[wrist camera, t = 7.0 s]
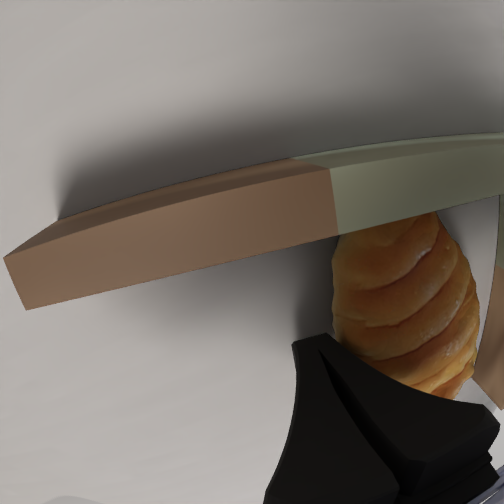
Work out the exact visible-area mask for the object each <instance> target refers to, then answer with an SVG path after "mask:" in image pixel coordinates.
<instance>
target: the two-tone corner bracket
mask: <svg viewBox="0 0 504 504" xmlns="http://www.w3.org/2000/svg"><path fill="white" fill-rule="evenodd" d="M497 195H500V212H499V231H498V244H497V254H496V263H495V271H494V278H493V285H492V291H491V297H490V303H489V308H488V313H487V318H486V323H485V327H484V332H483V336H482V340H481V344H480V348H479V352H478V355H477V359H476V363H475V366H474V373H473V375H472V376H471V378H472V379H473V380H474V381H475V382H476V383H477V384H478V385H479V386H480V387H481V388H482V390H483V391H484V392H485V393H486V394H487V395H488V396H489V397H490V399H491V400H492V401H493V402H494V403H495V404H496V405H497V406H498V408H499V409H500V410H502V409H504V132H499V133H479V134H463V135H450V136H439V137H428V138H418V139H409V140H401V141H392V142H385V143H377V144H370V145H363V146H356V147H350V148H343V149H337V150H331V151H325V152H319V153H313V154H308V155H302V156H297V157H292V158H287V159H282V160H277V161H272V162H267V163H262V164H257V165H253V166H248V167H244V168H239V169H235V170H230V171H226V172H222V173H218V174H214V175H209V176H205V177H201V178H197V179H193V180H190V181H186V182H182V183H178V184H174V185H171V186H167V187H163V188H160V189H156V190H153V191H149V192H146V193H142V194H139V195H135V196H132V197H129V198H125V199H122V200H119V201H115V202H112V203H109V204H106V205H103V206H100V207H97V208H93V209H90V210H87V211H84V212H81V213H78V214H75V215H73V216H70V217H67V218H64V219H61V220H58V221H56V222H55V223H53V224H51V225H50V226H48V227H47V228H45V229H44V230H42V231H41V232H39V233H38V234H36V235H35V236H33V237H32V238H30V239H29V240H27V241H26V242H25V243H23V244H22V245H20V246H19V247H17V248H16V249H15V250H13V251H12V252H10V253H9V254H8V255H6V256H5V257H3V259H4V262H5V264H6V267H7V269H8V272H9V274H10V276H11V279H12V281H13V283H14V286H15V288H16V290H17V292H18V295H19V297H20V299H21V301H22V303H23V305H24V307H25V309H26V310H30V309H34V308H39V307H43V306H47V305H51V304H56V303H60V302H64V301H68V300H72V299H77V298H81V297H85V296H89V295H93V294H98V293H102V292H106V291H110V290H114V289H119V288H123V287H127V286H131V285H135V284H139V283H144V282H148V281H152V280H156V279H160V278H164V277H168V276H173V275H177V274H181V273H185V272H189V271H193V270H197V269H202V268H206V267H210V266H214V265H218V264H222V263H226V262H230V261H235V260H239V259H243V258H247V257H251V256H255V255H259V254H263V253H267V252H271V251H276V250H280V249H284V248H288V247H292V246H296V245H300V244H304V243H308V242H312V241H316V240H320V239H324V238H328V237H333V236H337V235H341V234H345V233H349V232H353V231H357V230H361V229H365V228H369V227H373V226H377V225H381V224H385V223H389V222H393V221H397V220H401V219H405V218H409V217H413V216H417V215H421V214H425V213H429V212H433V211H437V210H441V209H445V208H449V207H453V206H457V205H461V204H465V203H469V202H473V201H477V200H481V199H485V198H489V197H493V196H497Z"/></svg>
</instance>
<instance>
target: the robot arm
mask: <svg viewBox="0 0 504 504" xmlns="http://www.w3.org/2000/svg"><path fill="white" fill-rule="evenodd" d="M292 351H293V356H294V362H295V368H296V393H295V403H294V410H293V415H292V420H291V425H290V429H289V433H288V437H287V440H286V443H285V446H284V449H283V452H282V455H281V457H280V460H279V463H278V465H277V468H276V470H275V472H274V474H273V477H272V479H271V481H270V483H269V485H268V487H267V489H266V491H265V497H264V501H263V504H480V503H481V502H483V501H484V500H486V499H487V498H488V497H490V496H491V495H493V494H494V493H495V492H496V493H495V494H494V495H493V496H491V497H490V498H489V499H488V500H486V501H485V502H484V503H483V504H504V465H503V466H502V467H500V468H499V469H498V470H495V469H494V468H493V466H492V465H491V463H490V462H491V461H492V456H491V455H490V454H489V452H488V450H489V448H490V447H491V445H492V444H493V442H494V440H495V439H496V437H497V435H498V433H499V430H500V423H499V422H498V421H497V419H496V418H495V417H494V416H493V414H492V413H491V412H490V411H489V410H488V409H487V408H486V407H485V406H484V405H482V404H475V403H468V402H461V401H455V400H451V399H447V398H443V397H439V396H435V395H432V394H429V393H426V392H423V391H420V390H417V389H415V388H412V387H410V386H407V385H405V384H403V383H401V382H399V381H396V380H394V379H392V378H391V377H389V376H387V375H385V374H383V373H382V372H380V371H378V370H377V369H375V368H373V367H372V366H370V365H369V364H367V363H366V362H364V361H363V360H361V359H360V358H358V357H357V356H356V355H354V354H353V353H351V352H350V351H349V350H347V349H346V348H345V347H344V346H342V345H341V344H340V343H339V342H337V341H336V340H335V339H334V338H333V337H331V336H330V335H329V334H328V333H323V334H319V335H316V336H313V337H309V338H305V339H302V340H298V341H295V342H293V344H292ZM498 490H499V491H498ZM497 491H498V492H497Z"/></svg>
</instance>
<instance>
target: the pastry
mask: <svg viewBox="0 0 504 504" xmlns="http://www.w3.org/2000/svg"><path fill="white" fill-rule="evenodd" d="M331 262H332V270H333V286H334V296H333V301H332V308H331V309H332V313H333V322H332V327H333V329H334V331H335V340H336V341H337V342H339V343H340V344H341V345H342V346H344V347H345V348H346V349H347V350H349V351H350V352H351V353H353V354H354V355H356V356H357V357H358V358H360V359H361V360H363V361H364V362H366V363H367V364H369V365H370V366H372V367H373V368H375V369H377V370H378V371H380V372H382V373H383V374H385V375H387V376H389V377H391V378H392V379H394V380H396V381H399V382H401V383H403V384H405V385H407V386H410V387H412V388H415V389H417V390H420V391H423V392H426V393H429V394H432V395H435V396H439V397H443V398H447V399H451V400H453V399H454V398H455V397H456V395H457V394H458V392H459V390H460V388H461V386H462V384H463V383H464V382H465V381H466V380H467V379H469V378H470V377H471V376H472V375H473V373H474V366H473V365H474V363H475V359H476V357H477V349H476V340H477V335H478V331H479V325H480V318H479V309H480V306H479V301H478V297H477V293H476V282H475V281H474V279H473V276H472V273H471V270H470V267H469V262H468V260H467V259H466V258H465V256H464V255H463V254H462V251H461V249H460V246H459V244H458V243H457V242H456V241H455V240H453V239H452V238H451V236H450V235H449V234H448V232H447V230H446V229H445V227H444V226H443V224H442V223H441V221H440V219H439V217H438V215H437V213H436V212H435V211H433V212H429V213H425V214H421V215H417V216H413V217H409V218H405V219H401V220H397V221H393V222H389V223H385V224H381V225H377V226H373V227H369V228H365V229H361V230H357V231H353V232H349V233H345V234H341V235H340V236H339V239H338V242H337V247H336V250H335V252H334V254H333V257H332V260H331Z"/></svg>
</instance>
